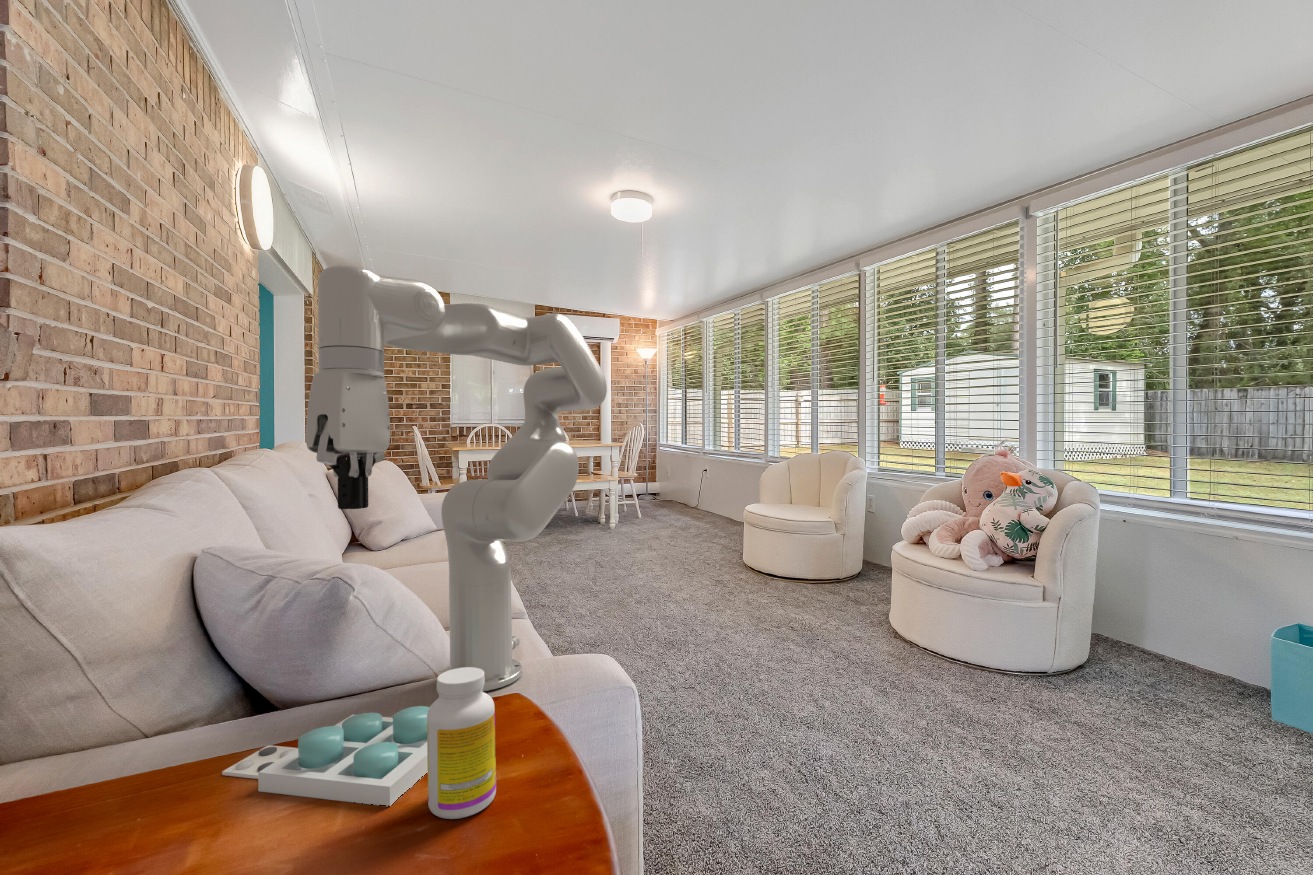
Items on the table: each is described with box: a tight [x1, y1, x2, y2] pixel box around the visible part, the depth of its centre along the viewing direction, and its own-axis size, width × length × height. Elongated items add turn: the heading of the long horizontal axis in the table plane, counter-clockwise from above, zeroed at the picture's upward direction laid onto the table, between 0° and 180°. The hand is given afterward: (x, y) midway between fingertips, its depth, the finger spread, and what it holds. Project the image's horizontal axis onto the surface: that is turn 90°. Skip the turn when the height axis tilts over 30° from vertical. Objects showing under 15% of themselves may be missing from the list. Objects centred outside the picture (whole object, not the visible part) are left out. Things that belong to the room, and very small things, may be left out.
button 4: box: [392, 705, 430, 744], centre depth 70 cm, size 4×4×2 cm
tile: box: [221, 744, 298, 780], centre depth 68 cm, size 6×6×1 cm
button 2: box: [342, 712, 383, 743], centre depth 71 cm, size 4×4×2 cm
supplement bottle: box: [427, 667, 497, 820], centre depth 60 cm, size 7×7×13 cm
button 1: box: [297, 725, 344, 768], centre depth 65 cm, size 4×4×2 cm
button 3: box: [353, 742, 398, 779], centre depth 63 cm, size 4×4×2 cm
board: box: [257, 714, 428, 807], centre depth 67 cm, size 14×16×2 cm
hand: (353, 508), depth 74 cm, fingers closed
